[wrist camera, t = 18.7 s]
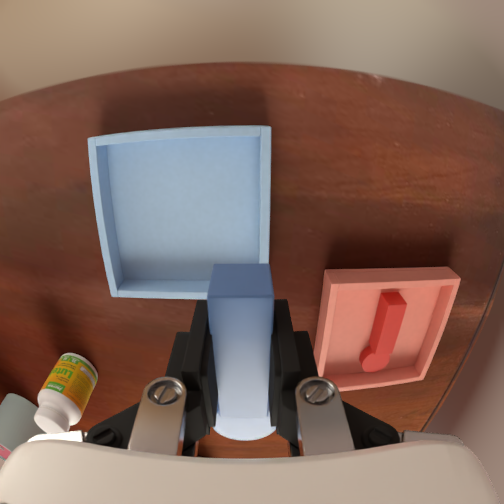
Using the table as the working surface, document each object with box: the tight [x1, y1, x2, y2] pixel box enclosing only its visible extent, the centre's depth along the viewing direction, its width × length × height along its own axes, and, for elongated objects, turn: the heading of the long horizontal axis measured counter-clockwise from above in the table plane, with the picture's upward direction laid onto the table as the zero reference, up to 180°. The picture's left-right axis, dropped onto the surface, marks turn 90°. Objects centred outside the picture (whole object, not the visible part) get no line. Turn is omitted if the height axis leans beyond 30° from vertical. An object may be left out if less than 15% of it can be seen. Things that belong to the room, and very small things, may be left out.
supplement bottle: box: [34, 353, 98, 434], centre depth 29 cm, size 5×5×10 cm
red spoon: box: [359, 292, 407, 373], centre depth 29 cm, size 3×10×2 cm, turn 0°
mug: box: [0, 393, 47, 461], centre depth 35 cm, size 14×9×10 cm
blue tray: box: [88, 125, 271, 299], centre depth 24 cm, size 13×13×3 cm
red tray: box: [313, 267, 461, 391], centre depth 29 cm, size 13×13×3 cm
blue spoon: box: [207, 263, 276, 440], centre depth 12 cm, size 3×10×2 cm, turn 0°
